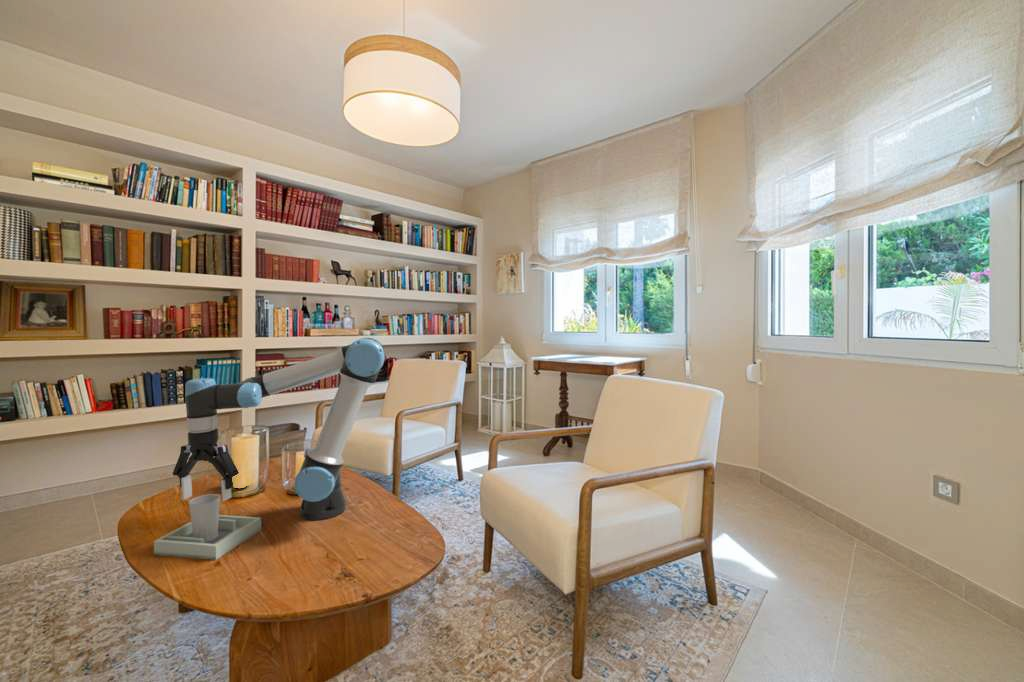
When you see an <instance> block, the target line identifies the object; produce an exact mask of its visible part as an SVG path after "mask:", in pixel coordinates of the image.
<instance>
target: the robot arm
mask: <svg viewBox="0 0 1024 682" xmlns="http://www.w3.org/2000/svg"><path fill="white" fill-rule="evenodd" d="M385 358H386V357H385V350H384V347H383V345H382V344H381V342H379V340H376V339H374V338H371V337H362V338H359V339H356V340H354V341H353V342H352V343H350V344H348V345H345V346H342V347H340V348H339V350H338V351H335V352H332V353H329V354H325V355H322V356H319V357H315V358H312V359H309V360H305V361H303V362H299V363H295V364H292V365H289V366H285V367H283V368H279V369H276V370H272V371H269V372H266V373H264V374H261V375H256V376H252V377H247V378H246V379H244V380H242V381H239V382H237V383H228V384H217V382H216V380H215V379H214V378H210V377H209V378H208V377H207V378H205V377H204V378H195V379H194V378H193V379H190V380H187V381H186V382H185V384H184V385H185V392H184V393H185V394H184V397H185V409H186V410H185V411H186V428H187V429H186V430H187V431H188V432H187V444H185V445H182V446H180V453H179V456H178V458H177V462H176V464H175V465H174V469H173V472H172V475H173V476H177V477H178V478H179V487H180V489H181V497H182V500H187V499H189V498H191V497H192V496H193V487H192V475H191V471H192V470H193V469H194V467H195V466H196V464H197V463H198V462H200V461H203V462H208V463H210V464H211V465H212V466H213V467H214V468H215V470H217V472H218V473H219V475H220V476H221V477H222V479H220V481H221V483H220V484H221V485H220V486H221V499H222V502H226V501H228V500H229V499H231V498H232V497H233V496H232V489H233V488H232V487H233V482H232V477H233V476H235V475H237V474H238V473H239V472H238V470H237V468H236V466H235V465H236V464H235V462H234V460H233V459H232V457H231V454H230V453H229V450H228V449H229V448H228V445H227V444H223V445H218V441H219V439H220V438H219V429H218V411H217V410H226V409H230V410H231V409H248V408H255V407H258V406H259V405H261V401H262V399H263V398H265V397H269V396H271V395H275V394H277V393H282V392H284V391H288V390H292V389H294V388H297V387H301V386H304V385H307V384H310V383H314V382H316V381H319V380H323V379H326V378H330V377H332V376H337V375H340V376H341V380H340V382H339V386H338V389H337V391H336V393H335V395H334V398H333V400H332V403H331V405H330V409H329V411H328V413H327V416H326V417H325V421H324V422H323V426H322V427H321V430H320V432H319V435H318V438H317V440H316V444H315V445H314V446H311V447H309V448H306V449H305V450H304V455H303V457H304V459H303V462H302V465H301V467H300V469H299V472H298V473H297V474H296V476H295V478H294V485H293V486H294V491H295V493H296V495H298V497H299V498H301V500H302V501H301V505H300V508H299V509H300V510H299V511H300V512H299V513H300V517H301V518H302V519H305V520H311V521H318V520H319V521H321V520H326V519H330V518H333V517H337V516H339V515H341V514H342V513H344V512H345V511H346V510H347V499H346V497H345V493H344V491H343V488H342V475H341V474H342V473H341V471H342V470H341V469H342V467H343V463H344V458H343V456H342V453H343V451H344V450H345V449H344V448H345V446H346V444H347V441H348V438H349V436H350V435H351V431H352V428H353V426H354V424H355V421H356V418H357V416H358V413H359V411H360V409H361V406H362V403H363V401H364V398H365V396H366V393H367V391H368V389H369V387H371V386H373V385H375V383H376V380H377V378H378V376H379V373H380V371H381V368H383V366H384V363H385Z"/></svg>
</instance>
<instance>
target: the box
mask: <svg viewBox="0 0 1024 682" xmlns="http://www.w3.org/2000/svg"><path fill="white" fill-rule="evenodd" d="M260 531H262V517H258V516H257V517H254V516H243V515H242V516H241V515H240V516H239V515H226V514H219V523H218V536H217V537H216V538H215V539H213V540H210V541H207V542H204V538H194V537H193V530H192V522H191V521H189V522H188V523H185V524H184V525H181V526H180V527H179V528H176V529H174V530H172V531H171V532H168V533H166V534H165V535H163V536H160V537H159V538H157V539H155V540H154V541H153V555H155V556H167V557H175V558H176V557H178V558H188V559H203V560H213V561H217V560H218V559H219V558H221V557H223V556H224V555H225V554H227V553H229V552H230V551H232V550H234V549H235V548H237V546H239V545H241V544H242V543H244V542H245V541H247V540H248V539H250V538H252V537H253V536H254V535H256V534H257V533H259V532H260Z"/></svg>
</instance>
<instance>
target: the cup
mask: <svg viewBox="0 0 1024 682" xmlns="http://www.w3.org/2000/svg"><path fill="white" fill-rule="evenodd" d="M220 504H221V495H220V494H216V493H211V494H210V493H209V494H203V495H199V496H196V497H193V498H192V499H190V500H188V508H189V509H188V510H189V514H190V522H192V530H193V537H194V538H204V542H207V541H210V540H213V539H215V538H216V537H217V536H218V523H219V515H220V508H221V507H220V506H221V505H220Z"/></svg>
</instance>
